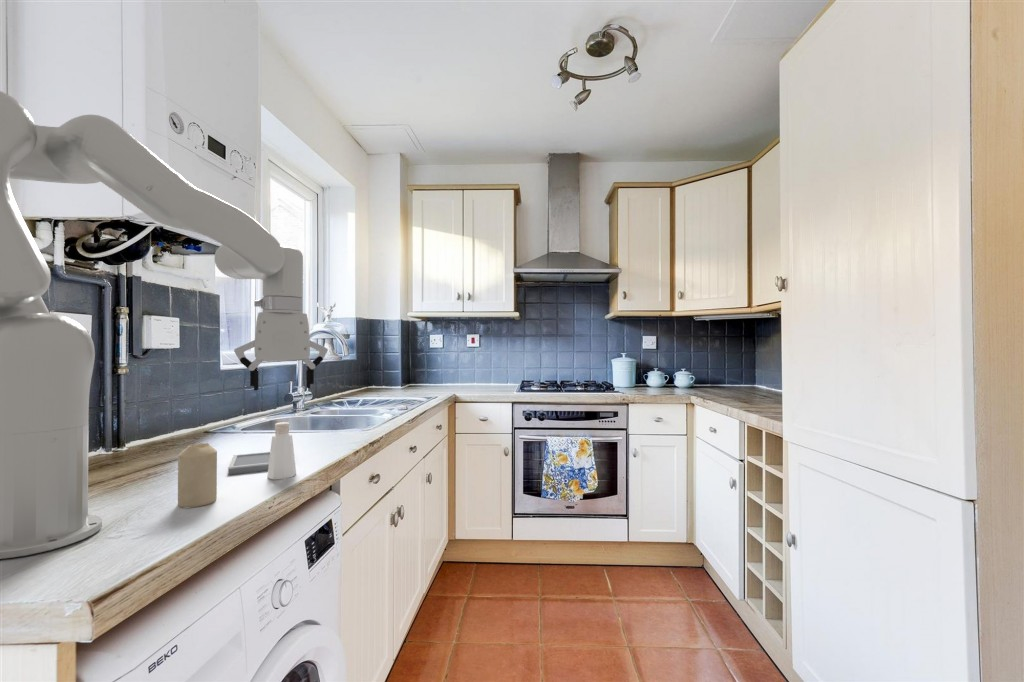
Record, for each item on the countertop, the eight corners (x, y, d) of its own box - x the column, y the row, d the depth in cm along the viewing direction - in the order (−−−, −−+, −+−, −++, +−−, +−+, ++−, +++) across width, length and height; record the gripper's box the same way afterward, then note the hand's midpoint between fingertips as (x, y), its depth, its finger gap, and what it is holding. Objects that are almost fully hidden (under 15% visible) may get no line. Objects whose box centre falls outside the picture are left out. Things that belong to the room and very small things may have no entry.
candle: (196, 509, 74) (197, 448, 75) (169, 507, 76) (169, 447, 76) (224, 498, 80) (224, 441, 80) (198, 496, 81) (198, 440, 81)
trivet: (228, 474, 94) (228, 467, 94) (233, 461, 105) (233, 455, 105) (292, 467, 100) (292, 460, 100) (290, 455, 110) (290, 449, 110)
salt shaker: (260, 479, 91) (261, 424, 91) (278, 471, 97) (279, 420, 97) (285, 480, 90) (285, 425, 90) (301, 472, 96) (302, 421, 96)
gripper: (232, 303, 87) (232, 392, 86) (329, 307, 94) (329, 388, 94) (236, 306, 93) (235, 389, 93) (326, 309, 101) (325, 385, 101)
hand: (282, 388), depth 94 cm, fingers open, 9 cm apart
